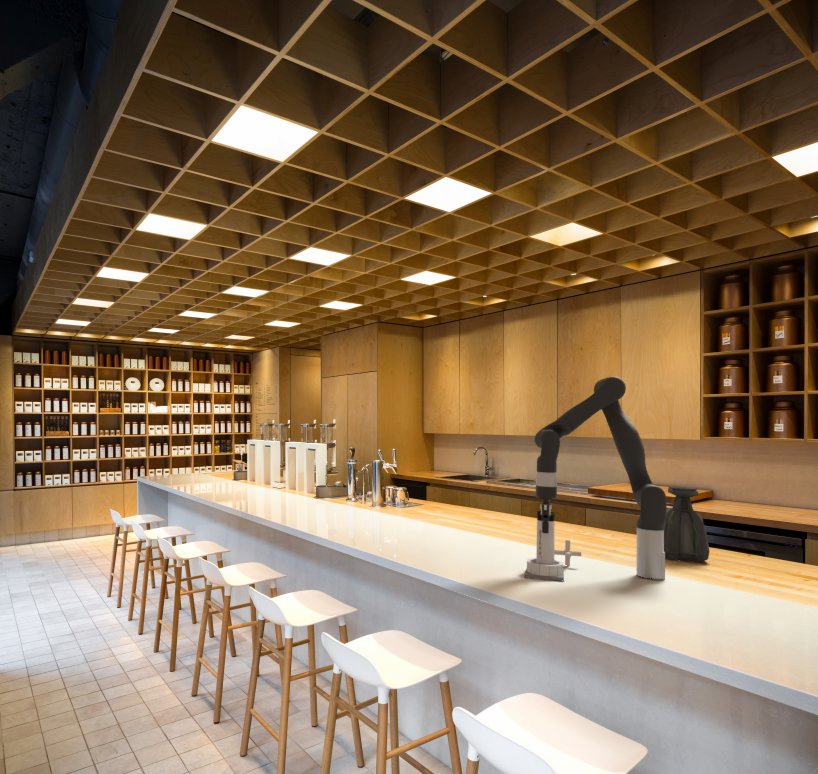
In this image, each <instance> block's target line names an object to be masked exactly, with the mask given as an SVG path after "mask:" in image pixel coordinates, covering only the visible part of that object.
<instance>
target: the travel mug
mask: <svg viewBox="0 0 818 774" xmlns="http://www.w3.org/2000/svg"><path fill="white" fill-rule="evenodd" d="M555 514H556V513H555V512H553V511H551V516H550V517H549V532H548V533H542V520H541V519H542V516H541V510H538V511H537V514H536V556H535V557H536V562H537V563H536V564H542V565H554V560H555V554H554V550H555V540H556V539H555V538H556V537H555V536H556V535H555V534H556V533H555V527H556V523H555V522H556V520H555V518H556V515H555ZM543 518H548V516H544V517H543Z"/></svg>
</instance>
